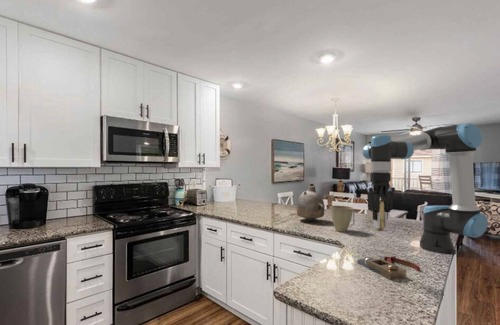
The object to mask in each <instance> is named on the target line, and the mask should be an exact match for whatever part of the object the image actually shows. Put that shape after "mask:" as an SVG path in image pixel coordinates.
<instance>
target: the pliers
mask: <svg viewBox="0 0 500 325" xmlns="http://www.w3.org/2000/svg"><path fill="white" fill-rule="evenodd" d="M377 255H378V256H379V257H381V259H383V260H385V261H387V262H390V263H392V262H393V263H392V264H394V263H396V264H398V265H402V266H406V267H409V268H412V269H413V270H415V271H416V272H420V271H421V267H420V266H419V265H418V264H415V263H414V262H411V261H409V260H408V261H407V260H405V259H401V258H399V257H398V258H397V257H396V256H390V255H388V254H386V253H380V252H379V253H377Z"/></svg>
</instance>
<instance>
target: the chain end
mask: <svg viewBox="0 0 500 325" xmlns="http://www.w3.org/2000/svg"><path fill="white" fill-rule="evenodd" d="M371 259H374V258H373V257H371V256H365V257H363V258H360V259H357V264H359V265H361V266H362V265H363V266H362V267H365V268H366V269H368V270H370V271H372V272H374V273H376V274H378V275H380V271H379V270H377V269H375V268H373V267H371V266H369V265H367V264H366V260H371ZM378 265H383V264H381V263H380V264H378Z"/></svg>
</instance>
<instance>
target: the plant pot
mask: <svg viewBox="0 0 500 325" xmlns="http://www.w3.org/2000/svg"><path fill="white" fill-rule="evenodd" d="M329 207H330V216H331V220H332V223H333V227H334V229H335V231H337V232H341V233H342V232H343V233H344V232H347V231H348V229H349V226H350V223H351V220H352V217H353V212H354V207H352V206H348V205H347V206H346V205H331V206H329Z"/></svg>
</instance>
